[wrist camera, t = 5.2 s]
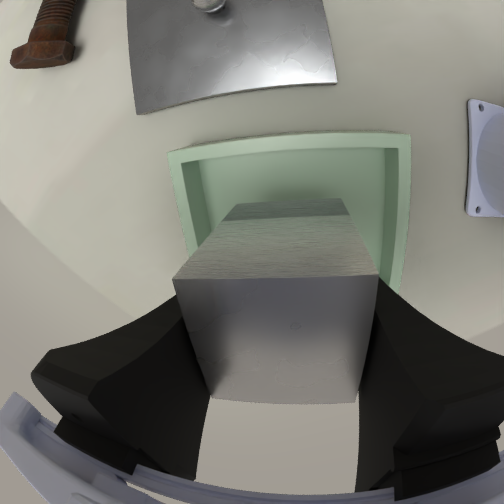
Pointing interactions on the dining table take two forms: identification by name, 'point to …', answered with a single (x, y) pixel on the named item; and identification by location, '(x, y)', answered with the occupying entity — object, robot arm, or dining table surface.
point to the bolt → (47, 38)
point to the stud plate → (224, 48)
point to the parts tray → (302, 183)
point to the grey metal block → (281, 303)
